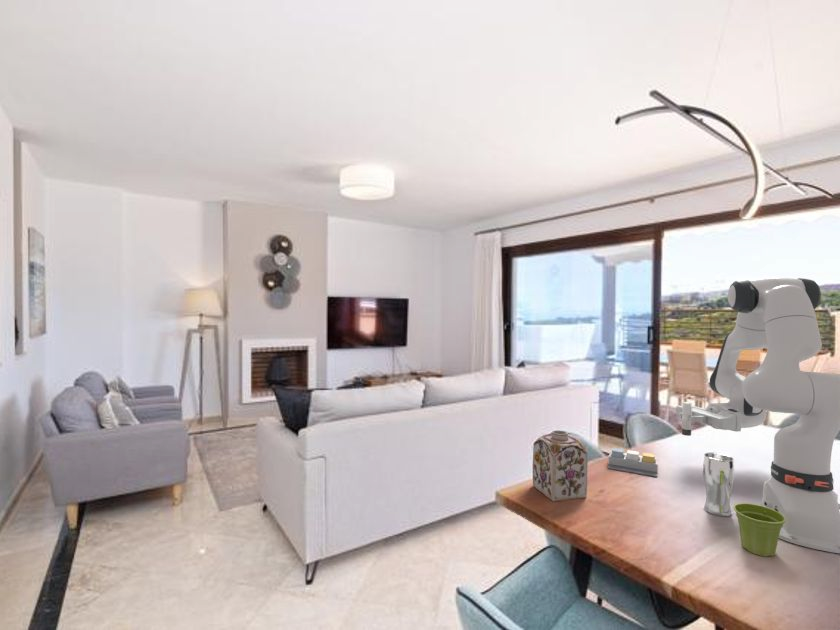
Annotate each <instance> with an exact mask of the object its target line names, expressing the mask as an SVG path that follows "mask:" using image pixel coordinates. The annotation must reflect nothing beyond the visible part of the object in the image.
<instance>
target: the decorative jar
mask: <svg viewBox="0 0 840 630" xmlns="http://www.w3.org/2000/svg"><path fill="white" fill-rule="evenodd" d="M532 453H533V454H532V486H533V488H535V489H537V490H538V491H539V492H540V493H542V494H543V495H544V496H545V497H547V498H548V499H549V500H550V501H552V502H560V501H561V502H563V501H569V500H576V499H578V500H579V499H585V498H587V496H588V495H587V494H588V464H589V462H588V460H589V459H588V457H589V455H588V450H587V449H586V447H585V446H584V444H583V442H582V441H581V440H580V439H579V438H577V437H574V436H572V435H569V433H568V432H567V431H564V430H558V429H557V430H552V431H551V433H546V434H543V435H541V436H540V437H538V438H537V439H536V440H535V441H534V442H533V448H532Z"/></svg>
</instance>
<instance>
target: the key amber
mask: <svg viewBox="0 0 840 630" xmlns="http://www.w3.org/2000/svg"><path fill="white" fill-rule="evenodd" d="M642 456H643V460H642V462H648V463H654V464H655V459H656V455H655V454H654V453H650V452H648V453H647V452H642Z"/></svg>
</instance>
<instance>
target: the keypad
mask: <svg viewBox="0 0 840 630" xmlns="http://www.w3.org/2000/svg"><path fill="white" fill-rule="evenodd" d="M642 460H643V455H641V454H639V461H636V460H630V459H627V452H624V459H623V458H617V457H612V451H611V452H610V451H609V455H608V464H607V469H608V470H613V471H618V472H625V473H629V474H635V475H640V476H641V475H643V476H646V477H653V478H658V468H659V467H658V465H659V464H658V463H659V462H658V460H659V459H656V458H655V464H654V463H648V462H642Z"/></svg>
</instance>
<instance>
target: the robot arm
mask: <svg viewBox="0 0 840 630" xmlns="http://www.w3.org/2000/svg"><path fill="white" fill-rule="evenodd" d="M821 295H822V294H821V288H820V285H819V284H818V283H817V282H816V281H815V280H812V279H809V278H801V277H798V278H789V277H788V278H787V277H760V278H759V277H757V278H750V279H749V278H742V279H738V280H735V281H733V282H732V283H731V284H730V286H729V289H728V291H727V295H726V296H727V297H726V298H727V301H728V304H729V307H730V308H731V309H732V311H734V312H737V316H736V320H735V326H734V328H733V330H731V331H729V332H728V333H727V334H726V336H725V337H724V339H723V342H722V345H721V348H720V351H719V353H718V354H719V355H718V358H717V362H716V365H715V367H714V370H713V372H712V373H711V375H710V378H709V386H710V389H711V391H713V392H714V393H716V394H718V395H720V396H722V397H725V398H726V399H728V400H729V401H728V402H717V403H716V402H714V403H709V404H708V405H707V406H706V408H704V407H701V406H700V407H699V406H695V405H692V416H688V421H691V423H700V424H703V425H704V426H705V425H706V426H709V427H711V428H713V429H716V430H723V431H732V432H736V433H737V432H738V433H739V432H742V431H741V430H742V429H748V428H754V427H758V426H761V425H762V424H764V423H765V421H766V419H767V412H772V413H781V414H793V415H800V416H799V418H798V419H797V421H796V422H794V423H793V424H791V425H787V426H785V427H782V428H780V429H779V430H777V432H776V433H775V435H774V438H773V460H772V461H771V465H770V476H771V477H770V478H769V479H768V480H767V481H765V482H763V488H762V489H763V490H762V501H761V506H764V507H768V508H770V509H773V510H775V511H777V512H779V513H781V514H782V515H784V516H785V518H786V522H785V523H783V526H782V528H781V530H780V534H779V538H778V539H780V540H783V541H785V542H788V543H791V544H794V545H799V546H802V547H805V548H810V549H813V550H820V551H824V552H829V553H835V554H840V503H839V502H838V493H836V492H835V491H833V490H835V489H834V482H835V481H834V478H833V477H834V476H833V472H832V471H831V461H832V451H833V445H834V441H835V440H836V438H837V435H838V433H839V432H840V373H834V372H822V371H821V372H820V371H819V372H818V371H803V370H802V371H801V368H800V363H801V362H804V361H807V360H809V359H812V358H813V357H815V356H817V355H818V354H819V353H820V352H821V350H822V345H823V343H822V337H821V332H820V329H819V324H818V319H817V315H816V311H815V310H816V309H817V308H818V307H819V305H820V303H821V300H822V299H821V298H822V296H821ZM765 348H766V353H765V357H764V360H763V361H762V362H761V364H760V365H759V366H758V367H757V368H756V369H755V370H753V371H751V372H750V373H748V374H747V375H746V376H744V375H742V374H741V373H739V372H738V370H737V364H738V361H739V358H740V356H741V352H742V351H743V350H744V351H755V350H756V351H757V350H761V349H765ZM675 414H676V416H678V418H679V419H682V405H676V407H675Z"/></svg>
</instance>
